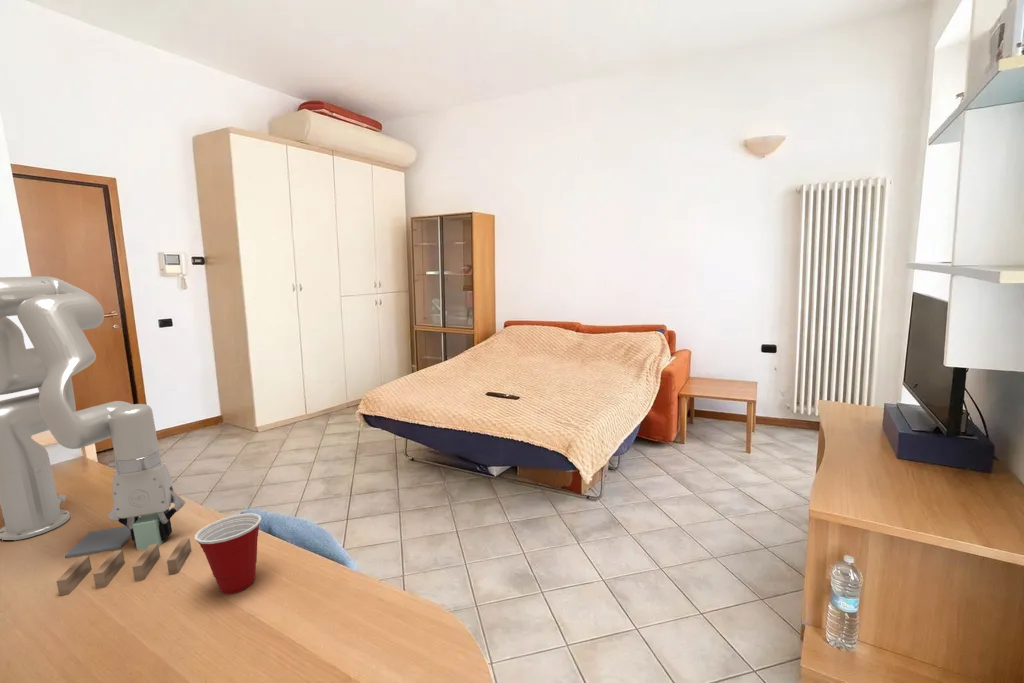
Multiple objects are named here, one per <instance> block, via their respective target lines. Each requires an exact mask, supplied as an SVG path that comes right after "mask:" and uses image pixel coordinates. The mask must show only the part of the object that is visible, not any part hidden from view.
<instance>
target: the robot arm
mask: <svg viewBox="0 0 1024 683" xmlns="http://www.w3.org/2000/svg"><path fill="white" fill-rule="evenodd" d="M14 316H15V317H17V319H18V320H19V323H20V325H21V326H22V328H23V330H24V332H25V333H26V336H27V337H28V339H29V341H30V342H31V344H32V346H33V347H30V348H26V344H25V336H24V333H23V330H22V329H21V328H20V327H19V326H18V325H17V324H16V323H15V322H14V321H13V320H11V319H10V318H9V317H14ZM104 319H105V311H104V309H103V306H102V305H101V303H100V302H99V301H98V299H97V298H96V297H95V296H93V295H92V294H91V293H89V292H87V291H85V290H83V289H81V288H79V287H77V286H75V285H73V284H71V283H69V282H66V281H65V280H62V279H60V278H59V277H53V276H44V275H43V276H41V275H40V276H39V275H38V276H36V275H35V276H6V277H5V276H4V277H0V396H3V395H8V394H9V395H10V394H14V393H19V392H24V391H29V390H33V389H38V392H35V393H33V392H32V393H29V394H26V395H20V396H15V397H11V398H6V399H2V400H0V510H1V513H2V517H3V518H2V519H3V520H4V526H3V527H1V528H0V539H2V540H1V541H3V540H14V541H19V540H23V539H29V538H32V537H36V536H39V535H42V534H45V533H47V532H48V533H49V531H52V530H54V529H57V528H58V527H61V526H62V525H64V524H65V523H66V522H68V521H69V519H70V518H71V513H70V511H68V510H66V509H61V507H60V506H61V504H62V503H64V501H66V500H67V496H66V495H65V494H64V493H63V494H61V493H60V494H59V495H58V493H57V489H56V484H55V480H54V475H53V471H52V465H51V461H50V456H49V453H48V450H47V449H46V447H45V446H44V445H43V444H41V443H39V442H37V441H36V440H35V439H33V436H36V435H37V434H41V433H44V432H46V431H49V432H50V434H51V435H52V436H53V438H54V439H55V441H56V442H57V443H58V444H59V445H61V446H62V447H64V448H66V449H70V450H77V449H81V448H84V447H87V446H92V445H94V444H97V443H100V442H103V441H105V440H108V439H111V442H112V447H113V453H114V459H112V460H109V461H108V465H109V467H110V468H112V467H113V468H115V470H116V471H115V472H114V473H113V475H112V501H113V502H112V504H113V507H112V509H111V510H110V512H109V514H108V516H107V517H108V518H109V519H111V520H113V521H115V522H118V523H120V524H121V525H123V526H127V529H130V531H131V537H130V538H131V541H132V542H134V546H135V547H136V541H135V536H134V531H133V524H134V523H135V522H136V521H137V520H138V519H139V518H140V517H141V516H144V515H150V514H156V513H157V514H158V516H159V518H160V520H161V523H160V524H159V529H160V535H161V540H162V541H163V542H165V541H167V540H168V538H169V537H170V535H171V534H172V532H173V528H172V522H171V518H172V517H173V516H174V515H175V514H176V513H177V512H178V511H179V510H181V509H182V508H183V507H184V506H185V505H186V501H185V500H184V499H183V498H182V497H180V496H179V495H178V494H177V493H176V491H175V487H174V484H173V479H172V476H171V473H170V471H169V469H168V467H167V465H166V463H165V462H164V461H162V458H161V453H160V447H159V440H158V437H157V435H158V434H157V432H156V430H157V429H156V425H155V419H154V414H153V410H152V408H151V406H150V405H148V404H146V403H145V404H144V403H135V404H133V403H131V402H127V401H124V400H123V401H122V400H113V401H109V402H106V403H103V404H99V405H95V406H90V407H87V408H84V409H80V410H77V407H76V398H75V392H74V386H73V380H72V377H73V376H74V375H76V374H78V373H80V372H81V371H83V370H86V369H87V368H89V366H91V365H92V364H93V363H94V362H95V361H96V359H97V355H96V351H95V349H94V348H93V346H92V345H91V343H90V341H89V340H88V338H87V335H86V334H85V332H84V330H92V329H96V328H99V327H100V326H101V325H102V324H103V322H104ZM172 504H174V505H173V506H172ZM171 506H172V507H171ZM170 507H171V508H170Z"/></svg>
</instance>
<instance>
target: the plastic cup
mask: <svg viewBox="0 0 1024 683" xmlns="http://www.w3.org/2000/svg"><path fill="white" fill-rule="evenodd" d="M261 522H262V516H261V515H260V514H257V513H251V512H249V513H248V512H247V513H246V512H245V513H240V514H234V515H230V516H226V517H224V518H221V519H218V520H215V521H213V522H211V523H209V524H206V526H203V527H202V528H200V529H199V530H198V531H196V533H195V534H194V540H195V542H197V543H198V544H199V545H200V547H201V549H202V552H203V553H204V555H205V558H206V559H207V563H208V565H209V567H210V570H211V572H212V575H213V578H214V579H215V582H216V583H217V586H218V589H219V590H220V592H222V593H223V594H228V595H230V594H237V593H239V592H242V591H244V590H246V589H247V588H249V587H251V585H253V584H254V582H255V580H256V579H255V578H256V576H257V575H256V573H257V570H256V569H257V568H256V567H257V561H258V560H257V558H258V537H259V530H260V523H261Z"/></svg>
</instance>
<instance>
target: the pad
mask: <svg viewBox="0 0 1024 683" xmlns="http://www.w3.org/2000/svg"><path fill="white" fill-rule="evenodd" d="M131 538H132V537H131V531H130V529H127V526H125V525H123V526H118V527H112V528H111V527H110V528H105V529H99V530H92V531H89V532H88V533H87V534H86V535H85V536H84V537H83V538H81V540H79V541H78V542H77V544H76V545H74V546H73V548H71V549H70V550H69V551H68V552H67V553H65V555H64V559H68V558H72V557H73V558H74V557H79V556H80V557H81V556H83V555H84V556H86V555H90V554H94V553H95V554H97V553H101V552H106V551H107V552H108V551H115V550H120V549H122V547H123V546H124V545H125V544H126V543H127V542H128V541H129V539H131ZM126 541H127V542H126Z"/></svg>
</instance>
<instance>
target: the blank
mask: <svg viewBox="0 0 1024 683" xmlns="http://www.w3.org/2000/svg"><path fill="white" fill-rule="evenodd" d="M160 523H161V520H160V518H159V516H158V514H157V513H156V514H150V515H144V516H139V519H138V520H137V521H136V522H135V523H134V524H133V531H134V536H135V541H136V546H135V547H136V550H139V551H143V550H142V549H145V550H146V549H147V548H148V546H149V545H152V544H157V543H158V546H159V547H160V546H161V545H162V543H164V541H162V540H161V535H160V529H159V524H160ZM160 544H161V545H160Z"/></svg>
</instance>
